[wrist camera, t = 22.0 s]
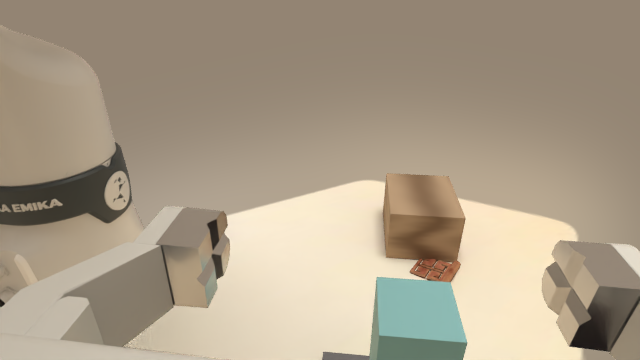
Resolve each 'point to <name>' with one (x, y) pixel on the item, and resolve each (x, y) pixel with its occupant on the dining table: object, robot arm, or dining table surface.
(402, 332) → the tall teal pillar
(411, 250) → the block
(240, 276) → the dining table surface
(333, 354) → the mat
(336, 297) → the dining table surface
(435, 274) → the key
